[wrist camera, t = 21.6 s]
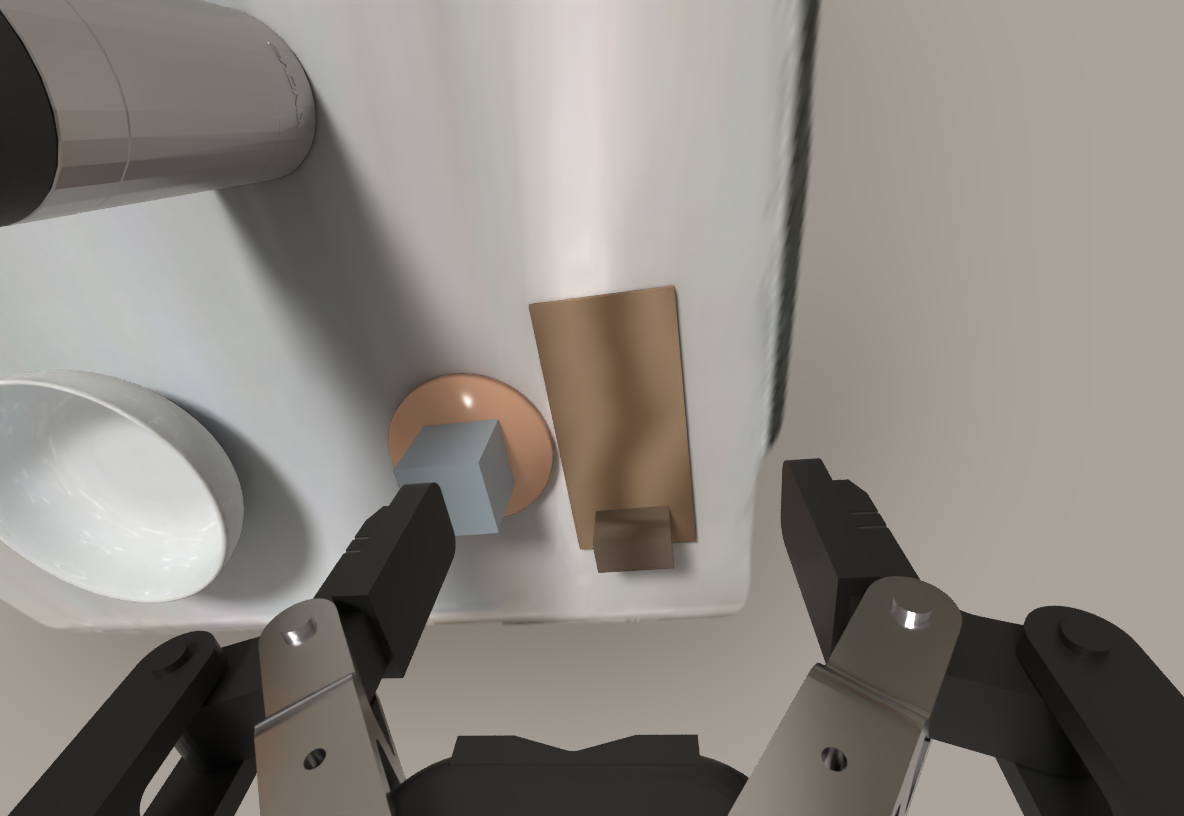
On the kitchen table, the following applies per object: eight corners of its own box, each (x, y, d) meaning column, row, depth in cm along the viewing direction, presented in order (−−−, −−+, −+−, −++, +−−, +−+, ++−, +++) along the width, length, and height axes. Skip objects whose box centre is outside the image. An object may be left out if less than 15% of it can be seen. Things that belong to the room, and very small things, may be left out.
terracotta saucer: (421, 516, 48) (416, 525, 47) (371, 383, 42) (365, 390, 41) (566, 504, 46) (564, 513, 45) (536, 364, 41) (533, 370, 40)
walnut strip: (580, 545, 48) (575, 583, 44) (529, 304, 38) (517, 325, 34) (695, 537, 47) (701, 576, 43) (673, 285, 37) (678, 305, 33)
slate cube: (444, 489, 45) (418, 538, 40) (423, 426, 42) (393, 470, 37) (514, 483, 44) (498, 533, 39) (498, 418, 42) (478, 462, 36)
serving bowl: (-24, 351, 44) (-131, 389, 38) (219, 334, 41) (147, 371, 35) (108, 551, 53) (39, 607, 47) (310, 546, 51) (266, 604, 45)
